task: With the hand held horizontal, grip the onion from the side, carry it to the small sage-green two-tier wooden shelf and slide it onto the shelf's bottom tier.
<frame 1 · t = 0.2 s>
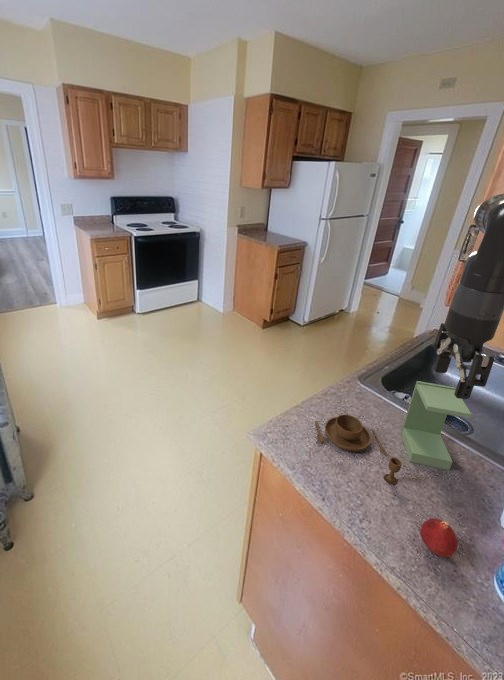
hand: (449, 383, 64), 30 cm above the worktop, tool pointing down, fingers open, 8 cm apart
shelf: (423, 450, 86), on the worktop
onion: (433, 550, 63), on the worktop
place setting: (351, 449, 86), on the worktop
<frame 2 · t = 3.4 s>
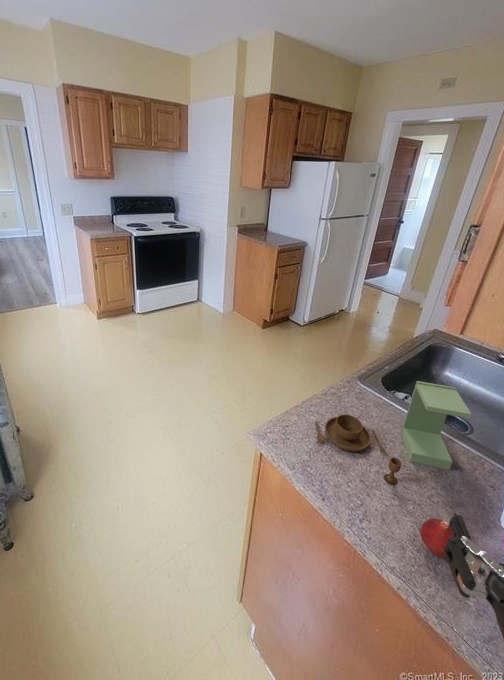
hand: (488, 525, 48), 20 cm above the worktop, tool horizontal, fingers open, 8 cm apart
nothing on the worktop moved.
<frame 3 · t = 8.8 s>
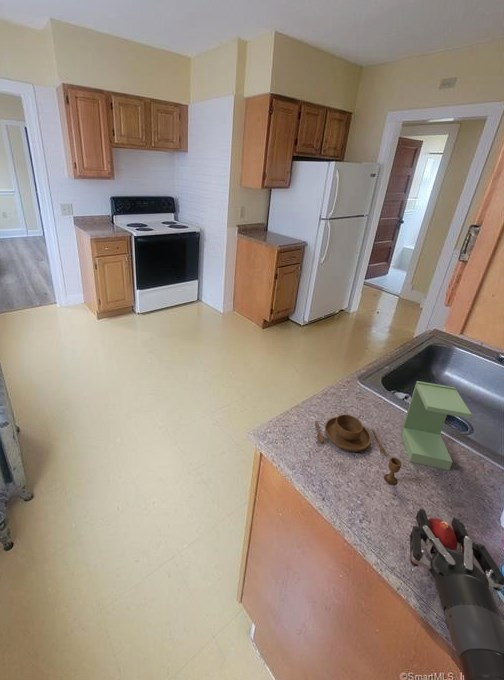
hand: (437, 516, 63), 6 cm above the worktop, tool horizontal, fingers closed on onion, 5 cm apart
onion: (433, 550, 63), on the worktop, touching gripper
everything else where it was.
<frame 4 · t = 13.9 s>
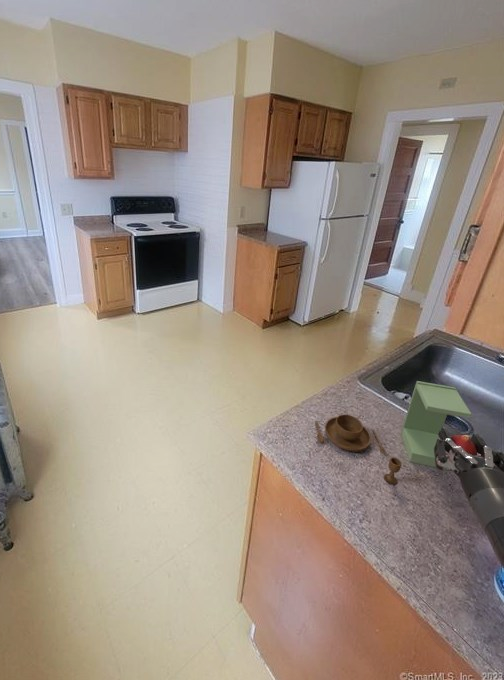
hand: (458, 433, 69), 17 cm above the worktop, tool horizontal, fingers closed on onion, 5 cm apart
onion: (454, 464, 69), point 11 cm above the worktop, touching gripper
everything else where it was.
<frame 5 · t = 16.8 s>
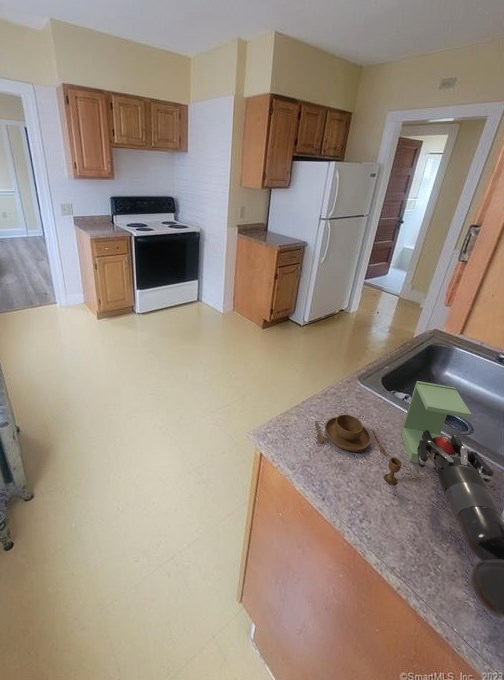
hand: (439, 435, 78), 10 cm above the worktop, tool horizontal, fingers closed on onion, 5 cm apart
onion: (435, 463, 78), point 3 cm above the worktop, touching gripper
everything else where it was.
when the fingers open (9 cm above the worktop, at t = 19.2 s): onion stays where it is, resting on shelf.
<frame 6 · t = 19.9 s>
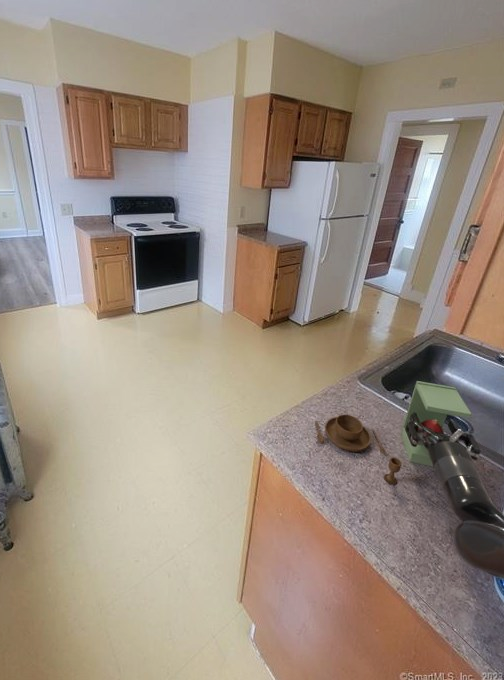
hand: (431, 418, 83), 10 cm above the worktop, tool horizontal, fingers open, 8 cm apart
onion: (426, 444, 84), point 3 cm above the worktop, touching shelf
everything else where it was.
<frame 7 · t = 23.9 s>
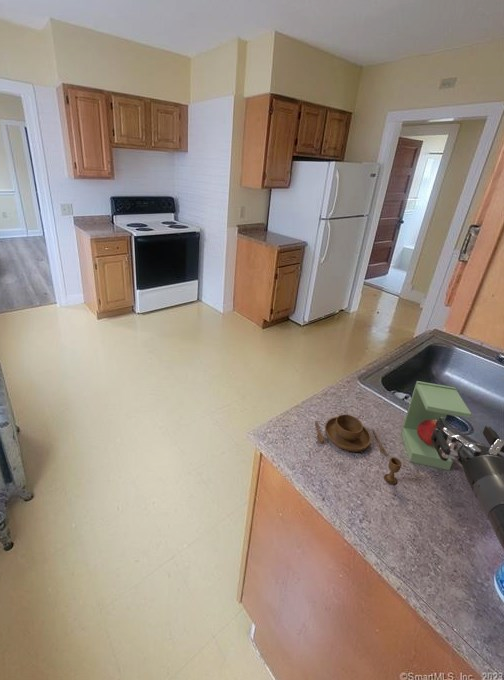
hand: (462, 424, 68), 19 cm above the worktop, tool horizontal, fingers open, 8 cm apart
nothing on the worktop moved.
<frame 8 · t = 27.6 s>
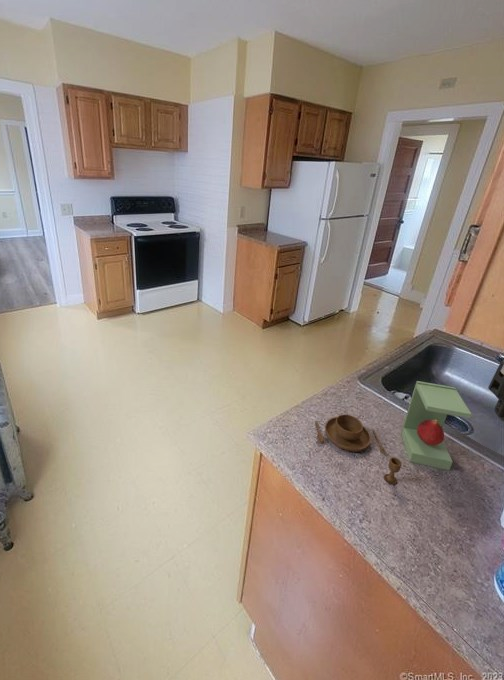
nothing on the worktop moved.
at the end: onion inside the target area on the shelf (0.3 cm from its centre), point 2.8 cm above the shelf's base; the gripper is holding nothing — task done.
